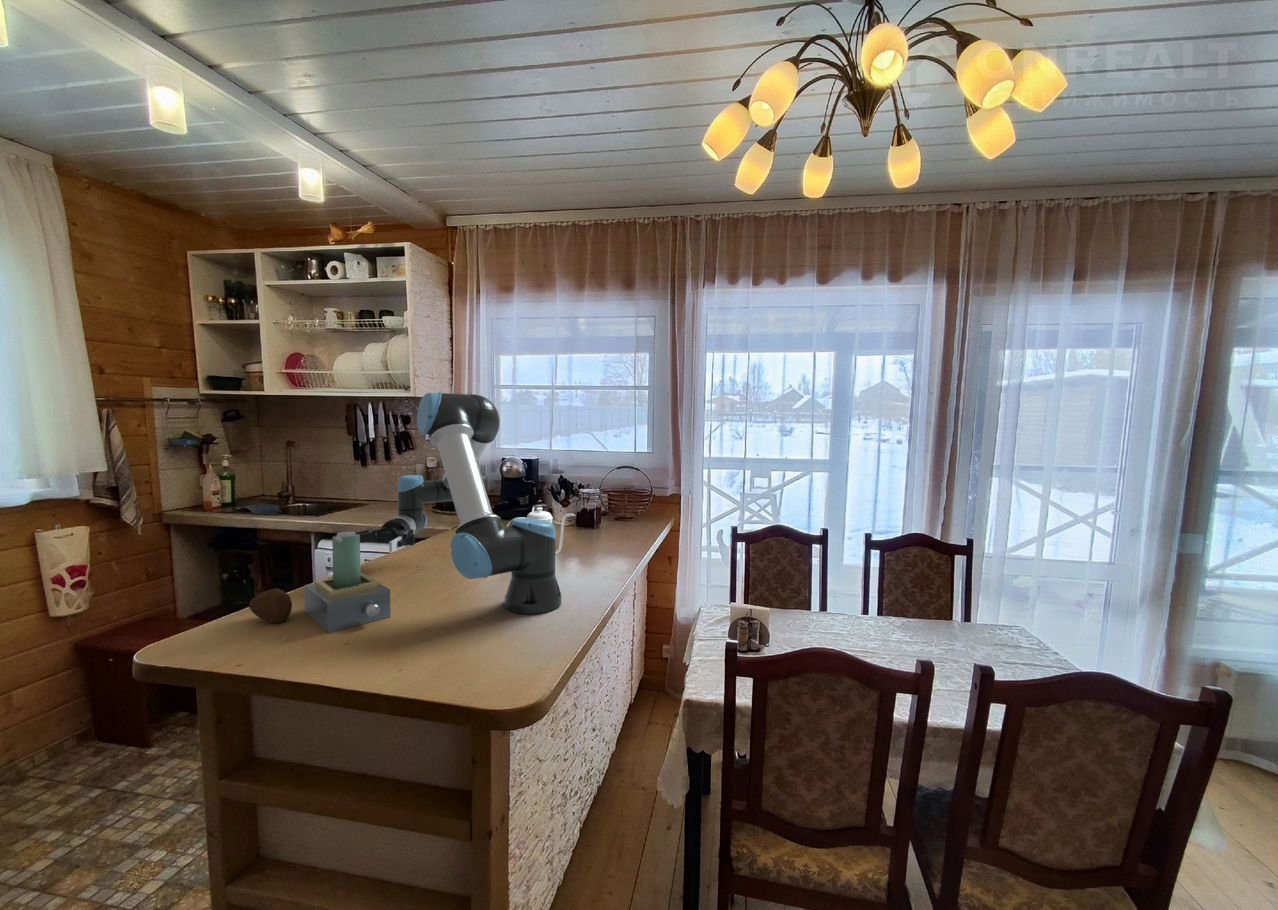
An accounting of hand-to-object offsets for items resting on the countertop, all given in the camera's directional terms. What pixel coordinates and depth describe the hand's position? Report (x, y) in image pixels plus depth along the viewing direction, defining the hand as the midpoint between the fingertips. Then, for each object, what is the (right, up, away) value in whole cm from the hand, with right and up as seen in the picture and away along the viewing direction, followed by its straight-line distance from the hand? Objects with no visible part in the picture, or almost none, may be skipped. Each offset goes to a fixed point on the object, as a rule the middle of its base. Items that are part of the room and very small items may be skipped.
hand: (364, 546), depth 139 cm
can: (0, -9, -9) cm, 12 cm away
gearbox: (+1, -16, -9) cm, 18 cm away
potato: (-15, -16, -13) cm, 26 cm away
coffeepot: (+38, -13, +46) cm, 61 cm away
